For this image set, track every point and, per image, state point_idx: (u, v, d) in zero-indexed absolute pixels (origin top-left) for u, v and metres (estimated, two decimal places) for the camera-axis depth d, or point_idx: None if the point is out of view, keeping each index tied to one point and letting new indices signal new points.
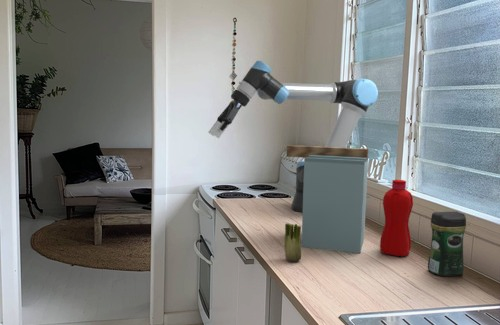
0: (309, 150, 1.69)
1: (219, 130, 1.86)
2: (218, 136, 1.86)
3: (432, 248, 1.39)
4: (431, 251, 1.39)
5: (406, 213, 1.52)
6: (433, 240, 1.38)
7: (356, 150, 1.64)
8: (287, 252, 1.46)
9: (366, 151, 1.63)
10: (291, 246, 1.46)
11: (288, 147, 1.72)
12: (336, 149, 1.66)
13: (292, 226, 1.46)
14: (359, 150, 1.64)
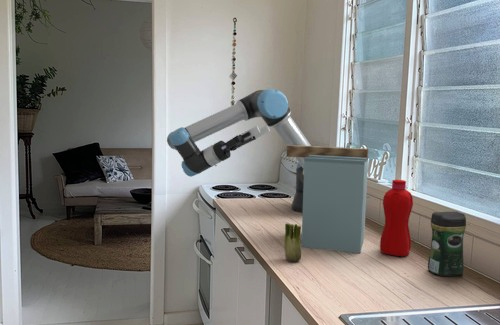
0: (309, 150, 1.69)
1: (252, 133, 1.71)
2: (255, 127, 1.70)
3: (432, 248, 1.39)
4: (431, 251, 1.39)
5: (406, 213, 1.52)
6: (433, 240, 1.38)
7: (356, 150, 1.64)
8: (287, 252, 1.46)
9: (366, 151, 1.63)
10: (291, 246, 1.46)
11: (288, 147, 1.72)
12: (336, 149, 1.66)
13: (292, 226, 1.46)
14: (359, 150, 1.64)
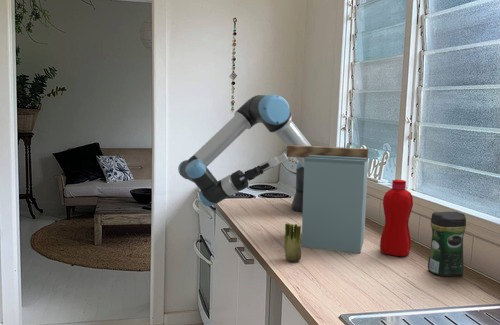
0: (309, 150, 1.69)
1: (270, 164, 1.69)
2: (274, 158, 1.68)
3: (432, 248, 1.39)
4: (431, 251, 1.39)
5: (406, 213, 1.52)
6: (433, 240, 1.38)
7: (356, 150, 1.64)
8: (287, 252, 1.46)
9: (366, 151, 1.63)
10: (291, 246, 1.46)
11: (288, 147, 1.72)
12: (336, 149, 1.66)
13: (292, 226, 1.46)
14: (359, 150, 1.64)
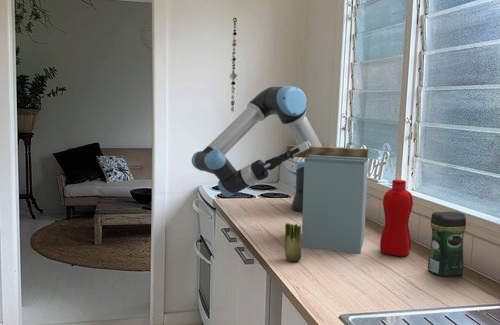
0: (309, 150, 1.69)
1: (300, 149, 1.70)
2: (304, 143, 1.69)
3: (432, 248, 1.39)
4: (431, 251, 1.39)
5: (406, 213, 1.52)
6: (433, 240, 1.38)
7: (356, 150, 1.64)
8: (287, 252, 1.46)
9: (366, 151, 1.63)
10: (291, 246, 1.46)
11: (288, 147, 1.72)
12: (336, 149, 1.66)
13: (292, 226, 1.46)
14: (359, 150, 1.64)
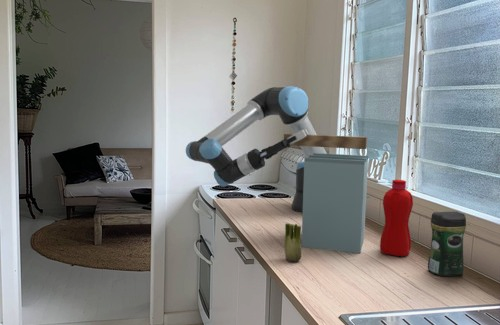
0: (306, 138, 1.66)
1: (297, 137, 1.66)
2: (301, 132, 1.65)
3: (432, 248, 1.39)
4: (431, 251, 1.39)
5: (406, 213, 1.52)
6: (433, 240, 1.38)
7: (354, 138, 1.60)
8: (287, 252, 1.46)
9: (365, 139, 1.59)
10: (291, 246, 1.46)
11: (285, 135, 1.68)
12: (334, 137, 1.63)
13: (292, 226, 1.46)
14: (357, 138, 1.60)
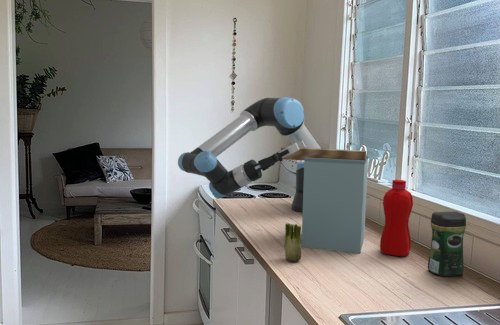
0: (304, 152, 1.61)
1: (290, 150, 1.59)
2: (294, 145, 1.58)
3: (432, 248, 1.39)
4: (431, 251, 1.39)
5: (406, 213, 1.52)
6: (433, 240, 1.38)
7: (353, 152, 1.56)
8: (287, 252, 1.46)
9: (364, 153, 1.55)
10: (291, 246, 1.46)
11: (282, 149, 1.63)
12: (332, 151, 1.58)
13: (292, 226, 1.46)
14: (357, 152, 1.55)
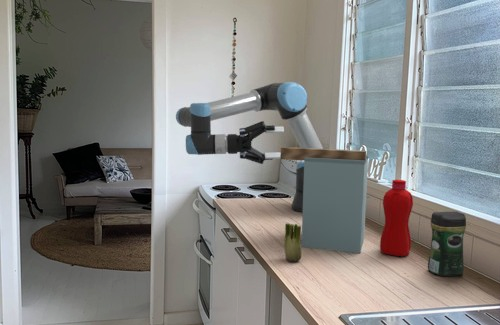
0: (304, 152, 1.61)
1: (276, 129, 1.72)
2: (281, 127, 1.73)
3: (432, 248, 1.39)
4: (431, 251, 1.39)
5: (406, 213, 1.52)
6: (433, 240, 1.38)
7: (353, 152, 1.56)
8: (287, 252, 1.46)
9: (364, 153, 1.55)
10: (291, 246, 1.46)
11: (282, 149, 1.63)
12: (332, 151, 1.58)
13: (292, 226, 1.46)
14: (357, 152, 1.55)
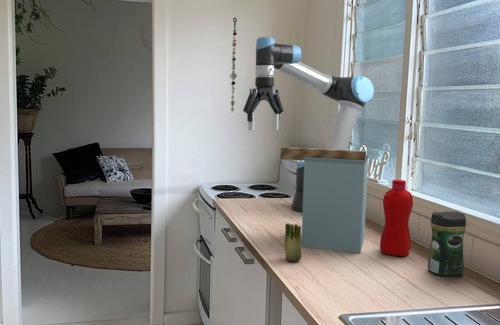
0: (304, 152, 1.61)
1: None
2: None
3: (432, 248, 1.39)
4: (431, 251, 1.39)
5: (406, 213, 1.52)
6: (433, 240, 1.38)
7: (353, 152, 1.56)
8: (287, 252, 1.46)
9: (364, 153, 1.55)
10: (291, 246, 1.46)
11: (282, 149, 1.63)
12: (332, 151, 1.58)
13: (292, 226, 1.46)
14: (357, 152, 1.55)
